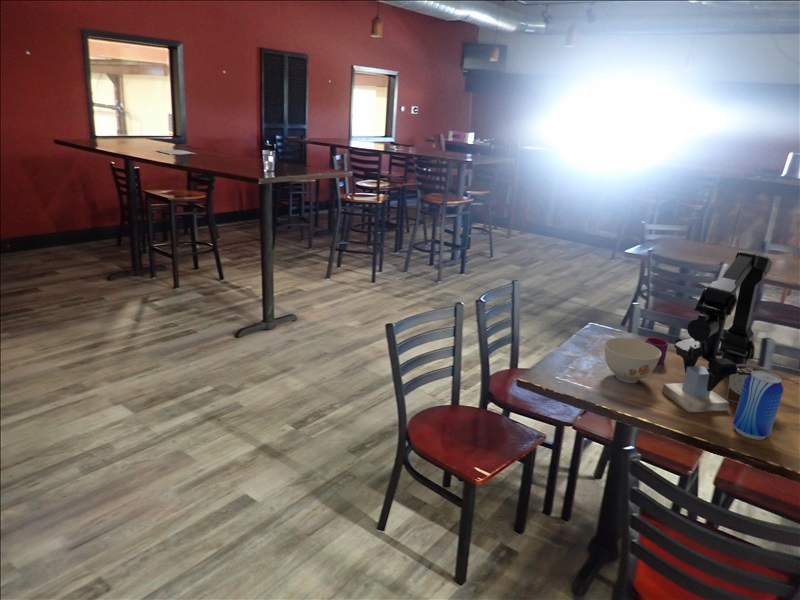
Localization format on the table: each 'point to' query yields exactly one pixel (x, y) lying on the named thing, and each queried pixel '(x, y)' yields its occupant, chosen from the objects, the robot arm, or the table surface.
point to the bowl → (630, 358)
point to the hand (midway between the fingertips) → (697, 383)
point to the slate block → (696, 381)
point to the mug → (659, 347)
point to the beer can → (758, 405)
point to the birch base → (694, 399)
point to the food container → (740, 380)
